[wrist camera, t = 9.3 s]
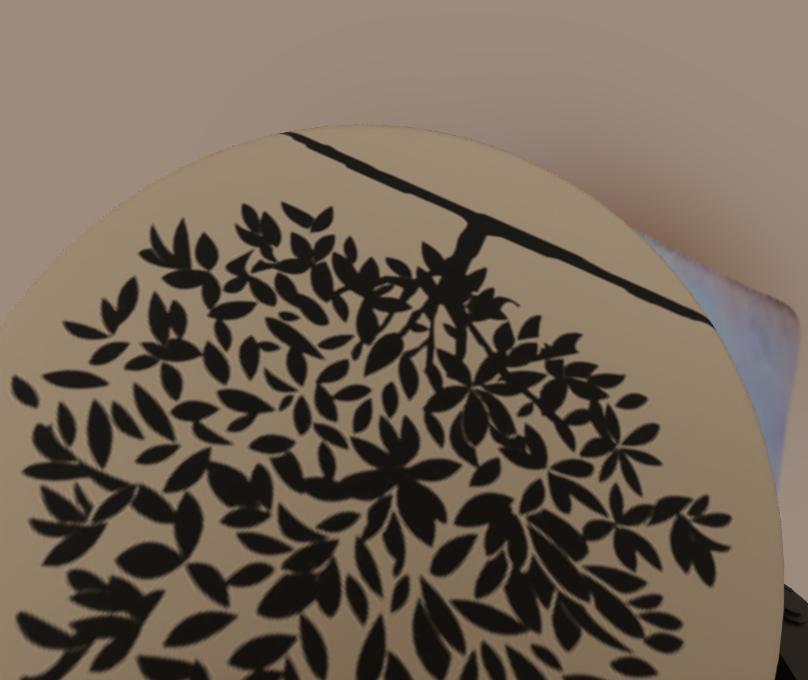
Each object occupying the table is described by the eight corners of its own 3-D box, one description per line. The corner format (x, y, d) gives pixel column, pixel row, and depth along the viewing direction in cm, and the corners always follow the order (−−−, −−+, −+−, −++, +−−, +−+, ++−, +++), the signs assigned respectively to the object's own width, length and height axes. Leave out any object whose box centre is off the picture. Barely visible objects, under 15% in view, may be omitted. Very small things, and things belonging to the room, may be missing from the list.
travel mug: (388, 596, 18) (664, 1799, 2) (258, 497, 19) (-439, 573, 2) (469, 453, 21) (880, 326, 4) (352, 373, 22) (320, 16, 5)
